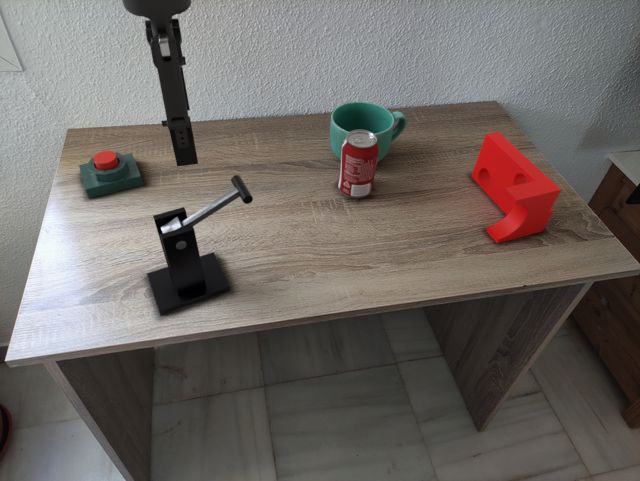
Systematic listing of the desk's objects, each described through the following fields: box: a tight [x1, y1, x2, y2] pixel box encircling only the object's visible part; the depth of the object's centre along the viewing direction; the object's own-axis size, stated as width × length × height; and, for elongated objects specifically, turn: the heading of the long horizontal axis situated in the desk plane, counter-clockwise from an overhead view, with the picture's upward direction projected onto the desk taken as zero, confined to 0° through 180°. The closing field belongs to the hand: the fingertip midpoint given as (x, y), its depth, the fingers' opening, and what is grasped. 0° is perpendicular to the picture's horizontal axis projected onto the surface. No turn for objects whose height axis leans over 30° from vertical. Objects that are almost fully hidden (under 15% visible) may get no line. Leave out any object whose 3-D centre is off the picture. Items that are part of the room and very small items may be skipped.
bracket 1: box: [146, 206, 231, 316], centre depth 69 cm, size 11×8×14 cm
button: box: [93, 150, 119, 171], centre depth 88 cm, size 4×4×2 cm
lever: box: [161, 174, 254, 233], centre depth 66 cm, size 13×5×2 cm, turn 117°
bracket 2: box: [471, 131, 562, 244], centre depth 87 cm, size 18×10×10 cm
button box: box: [78, 151, 144, 199], centre depth 90 cm, size 10×8×4 cm
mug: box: [329, 101, 407, 163], centre depth 97 cm, size 17×13×10 cm
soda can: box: [337, 130, 379, 199], centre depth 88 cm, size 7×7×12 cm
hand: (183, 135), depth 67 cm, fingers open, 13 cm apart
